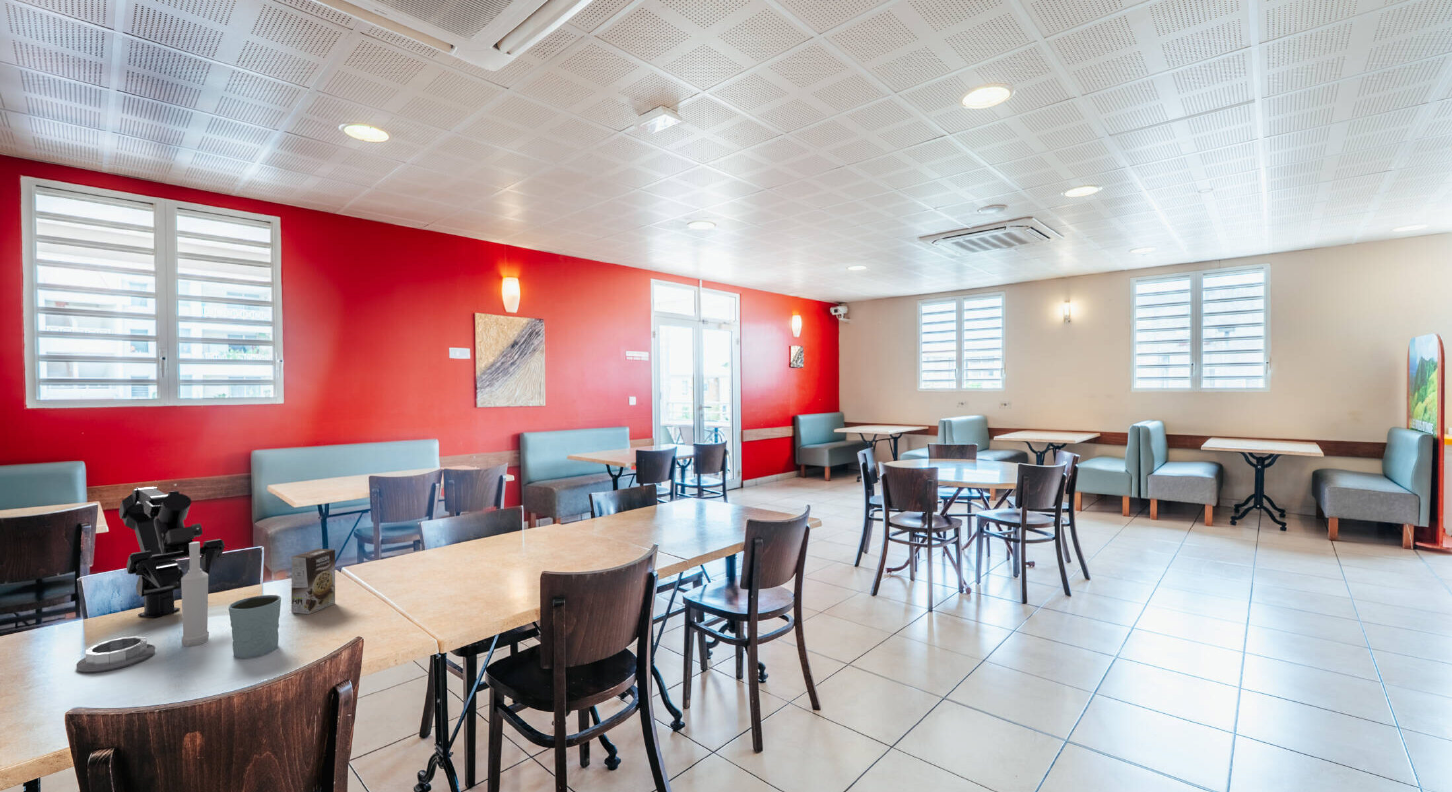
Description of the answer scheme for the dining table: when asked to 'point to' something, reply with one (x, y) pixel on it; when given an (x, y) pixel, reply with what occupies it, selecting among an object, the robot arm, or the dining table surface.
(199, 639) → the bottle
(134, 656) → the grey ring
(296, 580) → the coffee box
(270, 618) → the grey-green cup
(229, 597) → the dining table surface
